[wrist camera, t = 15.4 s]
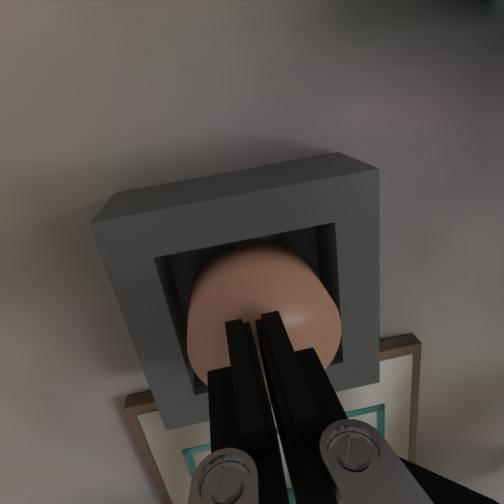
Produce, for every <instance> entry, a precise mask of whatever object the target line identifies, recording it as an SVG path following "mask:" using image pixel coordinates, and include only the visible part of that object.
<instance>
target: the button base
mask: <svg viewBox="0 0 504 504" xmlns="http://www.w3.org/2000/svg"><path fill="white" fill-rule="evenodd" d="M90 225H91V228H92V231H93V233H94V236H95V239H96V241H97V244H98V247H99V250H100V252H101V255H102V258H103V261H104V263H105V266H106V269H107V271H108V274H109V277H110V280H111V282H112V285H113V288H114V291H115V293H116V296H117V299H118V302H119V304H120V307H121V310H122V312H123V315H124V318H125V321H126V323H127V326H128V329H129V332H130V334H131V337H132V340H133V343H134V345H135V348H136V351H137V353H138V356H139V359H140V362H141V364H142V367H143V370H144V373H145V375H146V378H147V381H148V383H149V386H150V389H151V392H152V394H153V397H154V400H155V403H156V405H157V408H158V411H159V414H160V416H161V419H162V422H163V424H164V427H165V430H166V431H167V430H171V429H176V428H180V427H185V426H189V425H193V424H198V423H202V422H207V421H209V401H208V386H207V385H206V384H205V383H204V382H203V381H202V380H201V379H200V378H199V377H198V376H197V374H196V373H195V371H194V369H193V368H192V366H191V363H190V360H189V357H188V352H187V329H188V308H189V295H190V290H191V286H192V283H193V281H194V279H195V277H196V275H197V274H198V272H199V270H200V269H201V268H202V267H203V265H204V264H205V263H206V262H207V261H208V260H209V259H211V258H212V257H213V256H214V255H216V254H217V253H219V252H220V251H222V250H224V249H226V248H228V247H231V246H233V245H236V244H239V243H243V242H250V241H268V242H274V243H278V244H281V245H284V246H287V247H289V248H291V249H292V250H294V251H296V252H297V253H298V254H300V255H301V256H302V257H303V258H304V259H305V260H306V261H307V262H308V264H309V265H310V267H311V268H312V269H313V271H314V273H315V274H316V276H317V277H318V279H319V280H320V282H321V283H322V285H323V286H324V288H325V289H326V291H327V292H328V294H329V295H330V297H331V299H332V300H333V302H334V303H335V305H336V307H337V309H338V312H339V315H340V319H341V339H340V344H339V347H338V350H337V352H336V354H335V356H334V358H333V360H332V361H331V363H330V365H329V366H328V367H327V368H326V370H325V372H326V374H327V376H328V378H329V380H330V382H331V384H332V386H333V388H334V390H335V392H339V391H344V390H348V389H352V388H357V387H361V386H366V385H370V384H375V383H379V382H380V350H379V168H376V167H374V166H371V165H369V164H366V163H364V162H361V161H359V160H357V159H354V158H352V157H349V156H347V155H344V154H342V153H339V152H338V153H333V154H327V155H322V156H316V157H311V158H305V159H300V160H295V161H289V162H284V163H278V164H273V165H267V166H262V167H256V168H251V169H246V170H240V171H235V172H229V173H224V174H218V175H213V176H207V177H202V178H196V179H191V180H186V181H180V182H175V183H169V184H164V185H158V186H153V187H147V188H142V189H137V190H131V191H126V192H120V193H115V194H114V195H113V196H112V197H111V198H110V200H109V201H108V202H107V203H106V204H105V205H104V207H103V208H102V209H101V210H100V211H99V212H98V214H97V215H96V216H95V217H94V218H93V220H92V221H91V222H90ZM269 401H270V400H269ZM270 405H271V402H270ZM271 407H272V406H271Z"/></svg>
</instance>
